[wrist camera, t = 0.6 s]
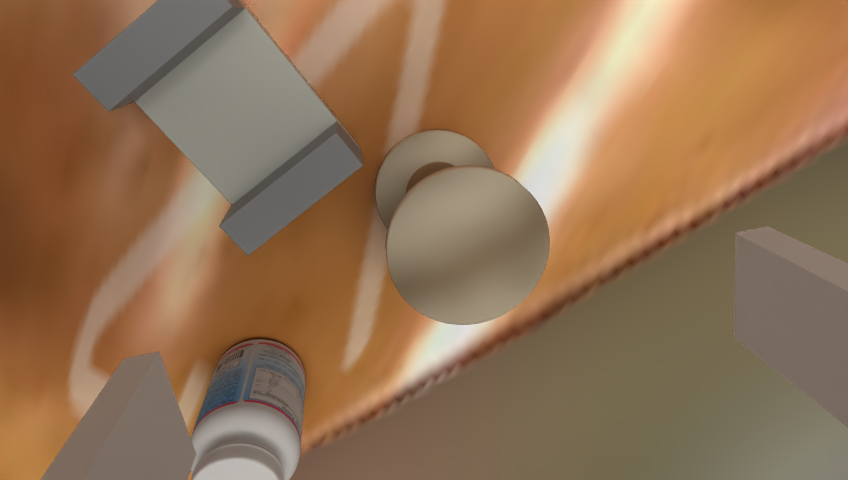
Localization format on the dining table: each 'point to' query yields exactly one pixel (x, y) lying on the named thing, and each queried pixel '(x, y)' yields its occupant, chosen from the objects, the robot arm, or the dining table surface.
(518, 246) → the wooden thread spool
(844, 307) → the robot arm
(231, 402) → the pill bottle
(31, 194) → the dining table surface
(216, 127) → the notch board
